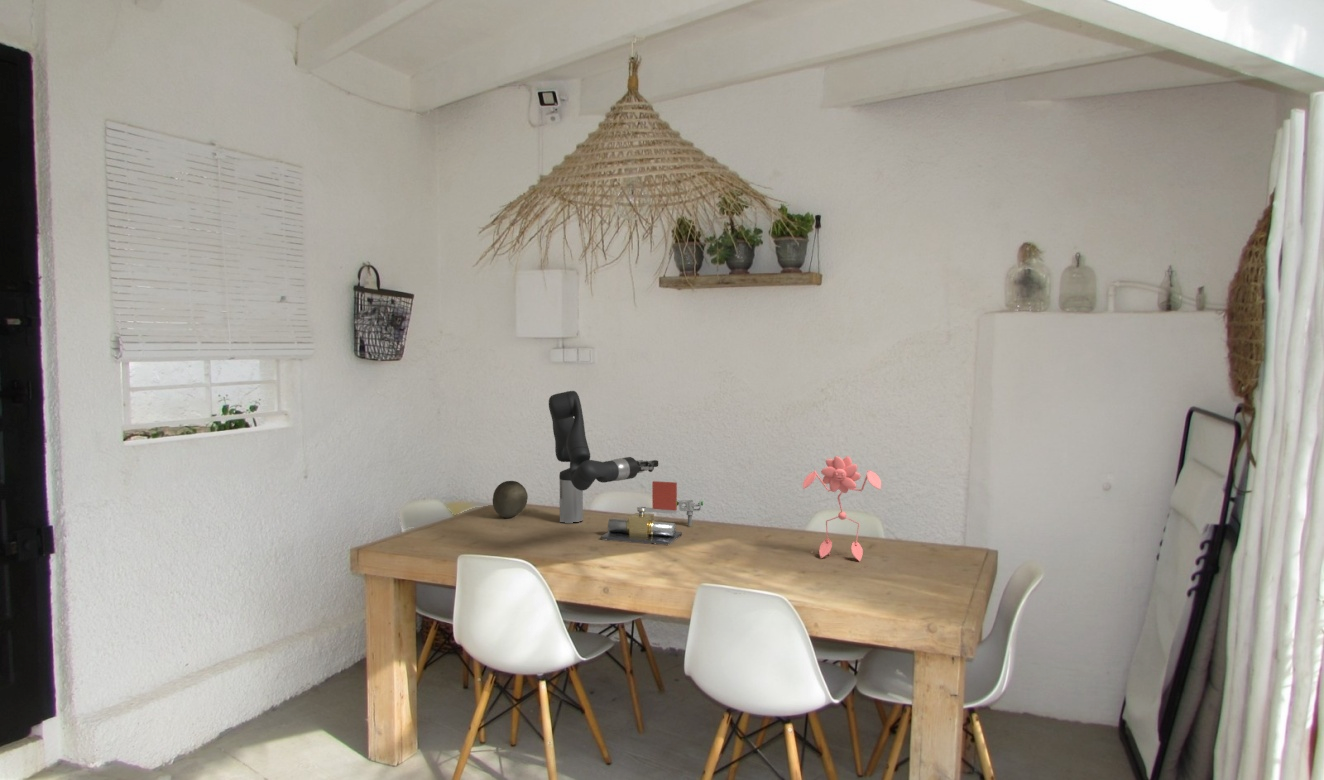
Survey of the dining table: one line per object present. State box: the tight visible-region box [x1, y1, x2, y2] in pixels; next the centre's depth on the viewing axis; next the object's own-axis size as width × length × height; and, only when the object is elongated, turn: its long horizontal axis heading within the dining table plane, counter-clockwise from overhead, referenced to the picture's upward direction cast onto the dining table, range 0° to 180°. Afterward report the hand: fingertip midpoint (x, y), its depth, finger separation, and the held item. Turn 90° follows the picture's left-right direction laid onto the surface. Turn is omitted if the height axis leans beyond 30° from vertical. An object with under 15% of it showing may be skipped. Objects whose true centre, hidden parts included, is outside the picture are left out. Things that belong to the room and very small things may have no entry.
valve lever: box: [636, 480, 678, 515], centre depth 303 cm, size 3×15×11 cm, turn 70°
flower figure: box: [802, 455, 882, 562], centre depth 271 cm, size 15×26×35 cm, turn 68°
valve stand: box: [600, 512, 683, 546], centre depth 306 cm, size 26×16×10 cm, turn 71°
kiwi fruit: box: [492, 480, 529, 519], centre depth 340 cm, size 14×14×15 cm
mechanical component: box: [677, 499, 704, 527], centre depth 324 cm, size 3×10×10 cm, turn 89°
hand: (656, 463), depth 298 cm, fingers closed
